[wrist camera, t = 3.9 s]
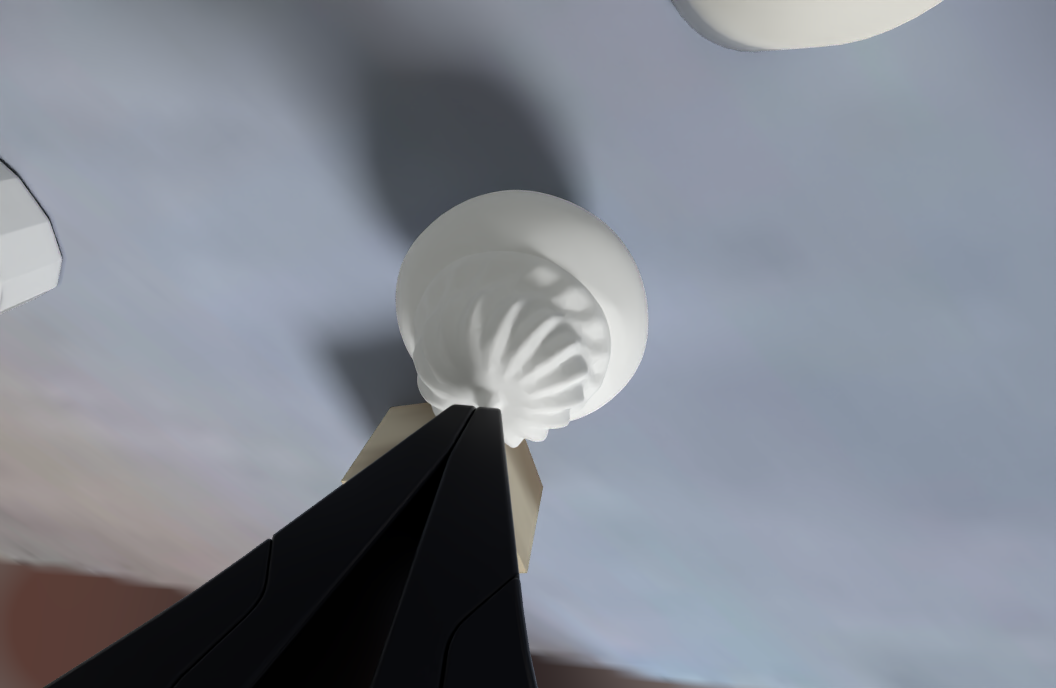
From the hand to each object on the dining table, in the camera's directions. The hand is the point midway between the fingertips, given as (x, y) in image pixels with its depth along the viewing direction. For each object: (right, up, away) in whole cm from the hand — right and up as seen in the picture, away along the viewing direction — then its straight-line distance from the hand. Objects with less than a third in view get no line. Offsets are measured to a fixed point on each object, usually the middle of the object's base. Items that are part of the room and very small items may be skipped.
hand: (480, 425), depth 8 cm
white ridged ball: (+1, +4, +6) cm, 8 cm away
